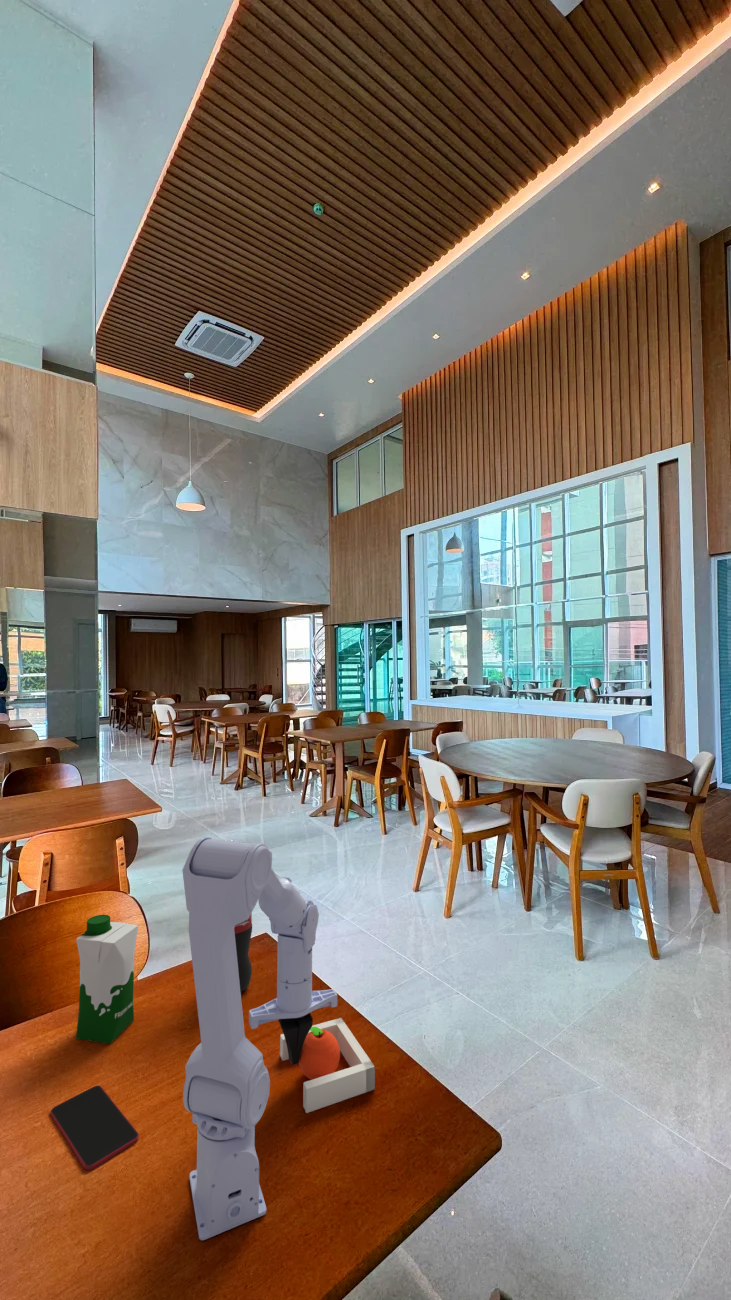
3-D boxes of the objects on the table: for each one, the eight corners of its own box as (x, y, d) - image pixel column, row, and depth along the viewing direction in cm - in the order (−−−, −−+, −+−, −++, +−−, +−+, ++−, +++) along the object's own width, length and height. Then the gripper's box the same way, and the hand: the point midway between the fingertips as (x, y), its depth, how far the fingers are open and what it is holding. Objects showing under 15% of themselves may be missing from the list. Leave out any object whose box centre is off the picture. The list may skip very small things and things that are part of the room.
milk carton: (100, 1012, 107) (103, 908, 108) (141, 1018, 106) (144, 912, 107) (67, 1041, 99) (71, 928, 100) (112, 1048, 97) (115, 933, 98)
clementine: (287, 1069, 92) (287, 1025, 92) (322, 1052, 96) (322, 1011, 96) (312, 1098, 86) (312, 1051, 86) (348, 1079, 90) (348, 1034, 90)
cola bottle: (246, 1000, 112) (248, 850, 113) (205, 999, 112) (207, 850, 113) (255, 977, 120) (257, 838, 122) (217, 977, 120) (219, 838, 122)
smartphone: (99, 1083, 88) (141, 1135, 78) (99, 1089, 88) (140, 1142, 78) (48, 1109, 83) (86, 1169, 73) (48, 1115, 83) (86, 1176, 72)
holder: (374, 1089, 88) (374, 1066, 88) (306, 1113, 83) (306, 1089, 83) (341, 1037, 100) (341, 1017, 100) (280, 1055, 95) (280, 1034, 96)
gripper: (327, 954, 97) (326, 1033, 96) (245, 972, 91) (243, 1057, 90) (342, 973, 90) (342, 1059, 90) (255, 994, 84) (254, 1086, 83)
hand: (293, 1060), depth 89 cm, fingers closed
